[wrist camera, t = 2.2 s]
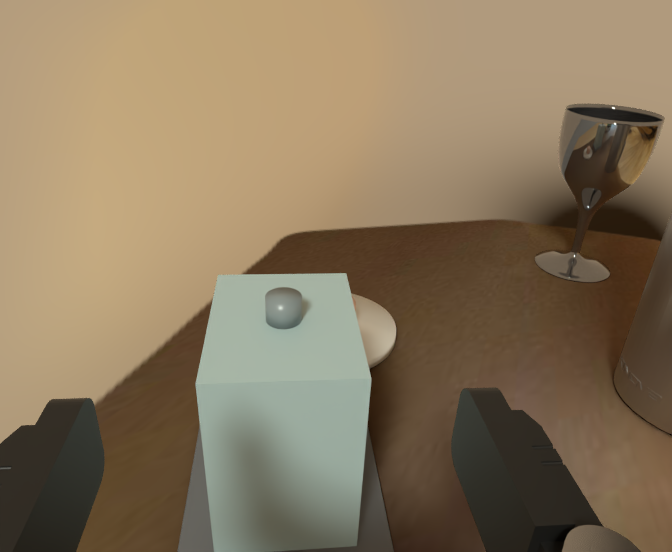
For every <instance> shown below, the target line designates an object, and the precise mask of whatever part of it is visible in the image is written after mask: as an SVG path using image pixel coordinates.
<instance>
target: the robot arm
mask: <svg viewBox="0 0 672 552" xmlns="http://www.w3.org/2000/svg"><path fill="white" fill-rule="evenodd" d="M614 384H615V387H616V390H617V392H618V393H619V395H620V396H621V398H622V399H623V401H624V402H625V403H626V404H627V405H628V406H629V407H630V408H631V409H632V410H633V411H634V412H636V413H637V414H638V415H640V416H641V417H642V418H644V419H645V420H646V421H648V422H649V423H651V424H653V425H654V426H656V427H658V428H659V429H661V430H663V431H665V432H667V433H669V434H672V212H671V215H670V218H669V221H668V223H667V226H666V229H665V232H664V235H663V238H662V240H661V243H660V246H659V249H658V251H657V254H656V257H655V260H654V263H653V266H652V268H651V271H650V274H649V277H648V280H647V282H646V285H645V288H644V291H643V294H642V296H641V299H640V302H639V305H638V308H637V310H636V313H635V316H634V319H633V322H632V324H631V327H630V330H629V333H628V336H627V339H626V341H625V344H624V347H623V350H622V353H621V355H620V358H619V361H618V364H617V367H616V369H615V372H614ZM451 448H452V458H453V463H454V467H455V470H456V472H457V475H458V478H459V480H460V483H461V486H462V488H463V491H464V493H465V496H466V499H467V501H468V504H469V507H470V509H471V512H472V515H473V517H474V520H475V523H476V525H477V528H478V530H479V533H480V536H481V538H482V541H483V544H484V546H485V549H486V552H641V551H640V550H639V549H638V548H637V547H636V546H635V545H634V544H633V543H632V542H630V541H629V540H628V539H627V538H625V537H624V536H622V535H620V534H619V533H617V532H615V531H613V530H610V529H608V528H605V527H603V525H602V524H601V522H600V521H599V519H598V518H597V516H596V514H595V513H594V511H593V509H592V508H591V506H590V505H589V503H588V501H587V500H586V498H585V496H584V495H583V493H582V492H581V490H580V488H579V487H578V485H577V484H576V482H575V480H574V479H573V477H572V475H571V474H570V472H569V471H568V469H567V467H566V466H565V465H563V463H562V459H561V458H560V456H559V454H558V453H557V451H556V449H553V445H552V443H551V441H550V440H549V438H548V436H547V435H546V433H545V432H544V430H543V428H542V427H541V426H540V425H539V424H538V423H537V422H536V421H535V420H533V419H532V418H531V417H530V416H529V415H527V414H526V413H525V412H524V411H523V410H511V409H510V407H509V405H508V403H507V402H506V400H505V398H504V396H503V395H502V393H501V391H500V390H499V389H498V388H465V389H463V390H462V392H461V394H460V399H459V404H458V409H457V414H456V420H455V425H454V430H453V435H452V443H451ZM103 471H104V449H103V445H102V440H101V435H100V430H99V426H98V421H97V416H96V411H95V407H94V403H93V401H92V400H91V399H90V398H78V399H52V400H51V401H49V402H48V404H47V405H46V407H45V409H44V410H43V412H42V414H41V416H40V417H39V419H38V421H37V423H36V424H35V425H25V426H21V427H19V428H18V429H17V430H16V431H15V432H13V433H12V434H11V435H10V436H9V437H8V438H6V439H5V440H4V441H3V442H2V443H1V444H0V552H76V550H77V547H78V544H79V542H80V539H81V536H82V533H83V531H84V528H85V525H86V522H87V520H88V517H89V514H90V511H91V509H92V506H93V503H94V500H95V498H96V495H97V492H98V489H99V487H100V484H101V481H102V477H103Z"/></svg>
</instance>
